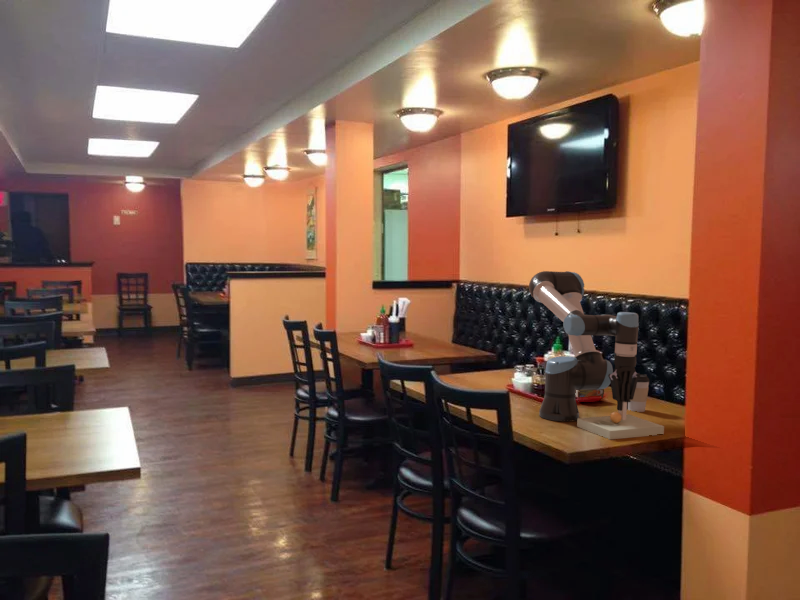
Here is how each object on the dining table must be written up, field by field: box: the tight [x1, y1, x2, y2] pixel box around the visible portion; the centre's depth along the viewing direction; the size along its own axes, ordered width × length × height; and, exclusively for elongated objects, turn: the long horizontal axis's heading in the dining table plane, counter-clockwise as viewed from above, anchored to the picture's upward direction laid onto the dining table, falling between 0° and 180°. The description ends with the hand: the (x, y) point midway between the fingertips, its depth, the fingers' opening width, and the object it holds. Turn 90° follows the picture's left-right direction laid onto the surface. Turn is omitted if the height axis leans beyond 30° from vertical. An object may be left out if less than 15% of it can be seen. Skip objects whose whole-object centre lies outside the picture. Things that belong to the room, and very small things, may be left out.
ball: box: [609, 411, 622, 423], centre depth 237 cm, size 4×4×4 cm
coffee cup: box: [627, 373, 651, 413], centre depth 272 cm, size 9×9×15 cm
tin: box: [578, 389, 605, 399], centre depth 285 cm, size 15×3×8 cm, turn 119°
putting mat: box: [576, 413, 665, 440], centre depth 238 cm, size 18×24×3 cm
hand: (621, 418), depth 238 cm, fingers closed
